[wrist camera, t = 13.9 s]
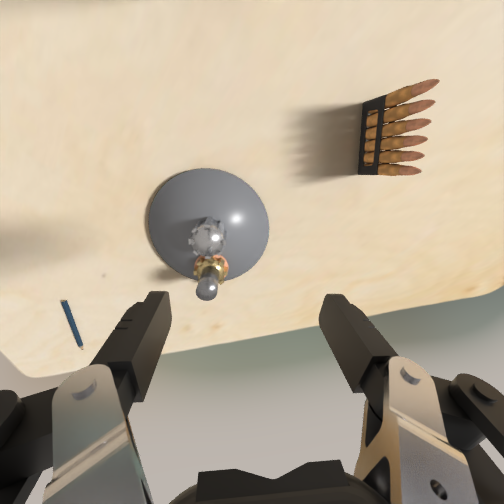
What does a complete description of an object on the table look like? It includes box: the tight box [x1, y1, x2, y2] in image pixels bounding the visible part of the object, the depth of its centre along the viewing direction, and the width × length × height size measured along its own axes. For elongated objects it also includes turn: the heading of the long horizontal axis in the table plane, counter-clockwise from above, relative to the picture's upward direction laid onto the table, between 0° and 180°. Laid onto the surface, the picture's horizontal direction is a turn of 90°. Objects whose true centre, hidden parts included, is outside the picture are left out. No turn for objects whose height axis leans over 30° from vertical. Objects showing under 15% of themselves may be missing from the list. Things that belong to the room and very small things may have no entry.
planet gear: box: [193, 256, 228, 301], centre depth 36 cm, size 6×6×8 cm
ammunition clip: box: [358, 79, 440, 176], centre depth 28 cm, size 11×2×12 cm, turn 9°
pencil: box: [61, 300, 83, 350], centre depth 44 cm, size 1×1×15 cm
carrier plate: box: [149, 168, 269, 281], centre depth 35 cm, size 22×22×6 cm
